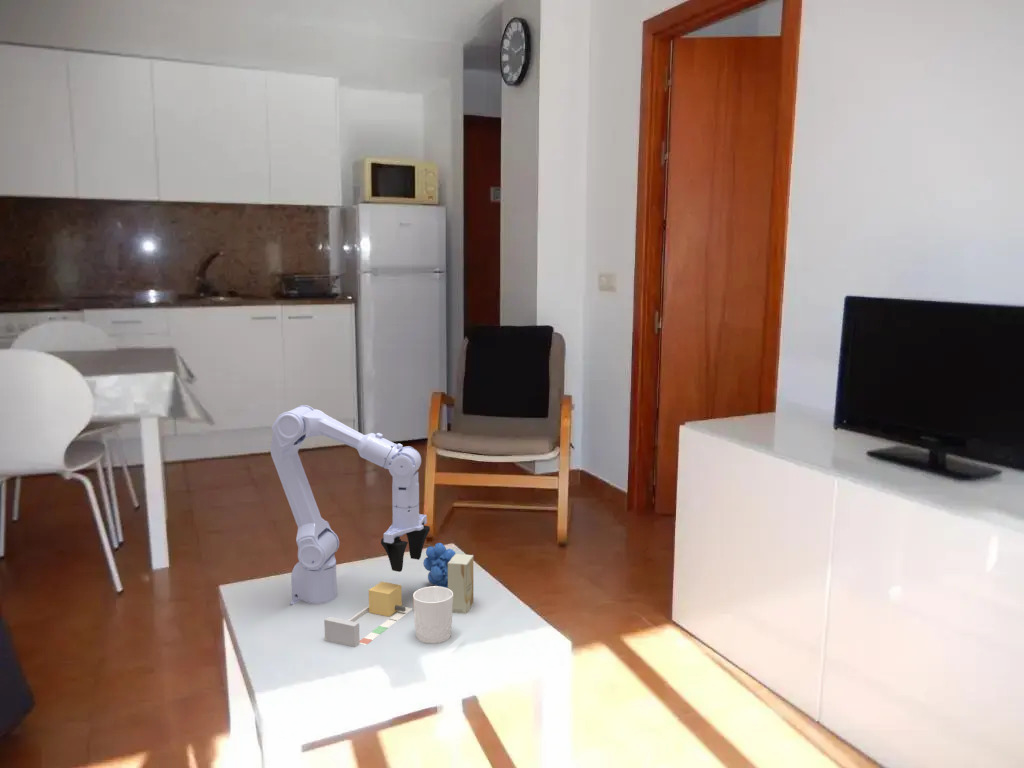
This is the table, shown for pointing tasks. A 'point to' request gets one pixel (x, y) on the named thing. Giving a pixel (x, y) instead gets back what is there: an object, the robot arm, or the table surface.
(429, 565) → the grapes
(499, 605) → the table surface
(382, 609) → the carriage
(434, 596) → the white cup
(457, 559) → the skincare box
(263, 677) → the table surface
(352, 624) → the gauge track
